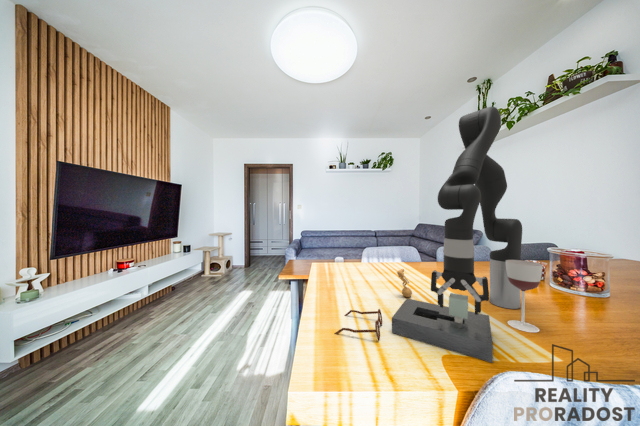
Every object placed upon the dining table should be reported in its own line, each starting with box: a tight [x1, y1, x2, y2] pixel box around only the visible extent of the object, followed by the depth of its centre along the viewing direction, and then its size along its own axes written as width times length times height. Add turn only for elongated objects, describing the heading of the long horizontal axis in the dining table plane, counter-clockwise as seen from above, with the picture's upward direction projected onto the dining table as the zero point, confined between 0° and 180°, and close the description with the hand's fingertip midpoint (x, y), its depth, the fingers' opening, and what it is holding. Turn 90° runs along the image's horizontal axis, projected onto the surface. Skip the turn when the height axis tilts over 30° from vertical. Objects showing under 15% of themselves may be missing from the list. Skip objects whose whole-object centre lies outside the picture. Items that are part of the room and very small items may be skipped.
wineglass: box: [506, 259, 543, 333], centre depth 71 cm, size 8×9×20 cm
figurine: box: [396, 268, 413, 298], centre depth 95 cm, size 8×6×12 cm
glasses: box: [334, 308, 383, 341], centre depth 71 cm, size 13×13×5 cm
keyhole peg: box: [448, 292, 469, 324], centre depth 65 cm, size 5×5×12 cm
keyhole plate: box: [391, 298, 494, 364], centre depth 68 cm, size 24×18×4 cm
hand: (458, 309), depth 65 cm, fingers open, 8 cm apart
